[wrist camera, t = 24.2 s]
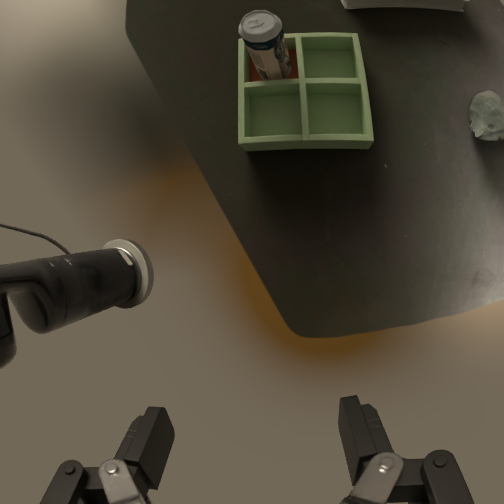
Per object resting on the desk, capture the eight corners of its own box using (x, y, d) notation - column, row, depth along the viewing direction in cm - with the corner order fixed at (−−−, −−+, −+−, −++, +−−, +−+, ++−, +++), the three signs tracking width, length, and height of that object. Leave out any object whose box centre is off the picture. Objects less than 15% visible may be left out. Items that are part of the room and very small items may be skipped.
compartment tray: (246, 151, 39) (238, 143, 35) (245, 52, 37) (238, 38, 33) (368, 149, 35) (374, 141, 31) (355, 48, 34) (357, 33, 30)
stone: (445, 105, 33) (481, 160, 30) (452, 88, 29) (492, 146, 26) (487, 97, 31) (521, 147, 28) (495, 83, 27) (532, 134, 24)
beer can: (295, 80, 35) (285, 31, 24) (262, 87, 37) (240, 42, 25) (287, 54, 35) (274, 3, 24) (255, 61, 36) (232, 13, 25)
